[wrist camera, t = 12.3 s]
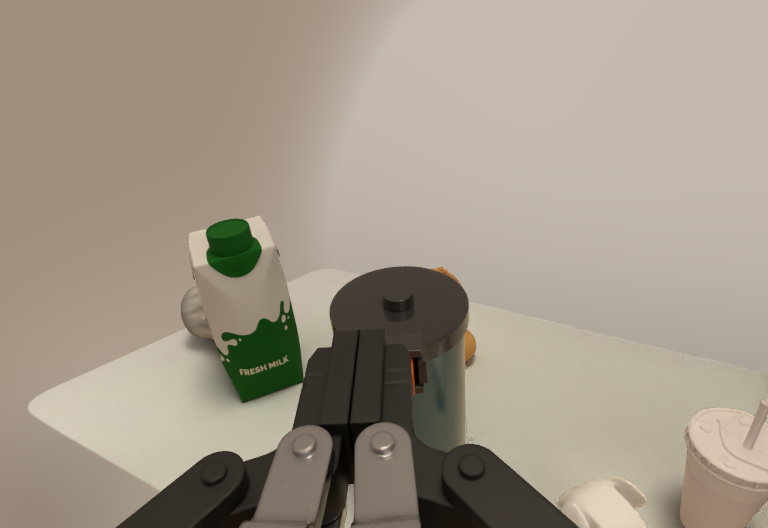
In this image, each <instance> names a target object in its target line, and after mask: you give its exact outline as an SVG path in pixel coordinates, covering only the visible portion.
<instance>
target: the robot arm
mask: <svg viewBox="0 0 768 528" xmlns="http://www.w3.org/2000/svg"><path fill="white" fill-rule="evenodd" d="M348 484H354V522H352V524H351V528H579V527H578V526H577V525H576V524H575V523H574V522H573V521H571V520H570V519H569V518H568V517H567V516H566V515H564V514H563V513H562V512H561V511H560V510H559V509H557V508H556V507H555V506H554V505H553V504H552V503H551V502H549V501H548V500H547V499H546V498H545V497H544V496H542V495H541V494H540V493H539V492H538V491H537V490H536V489H534V488H533V487H532V486H531V485H530V484H529V483H527V482H526V481H525V480H524V479H523V478H522V477H521V476H519V475H518V474H517V473H516V472H515V471H514V470H512V469H511V468H510V467H509V466H508V465H507V464H506V463H504V462H503V461H502V460H501V459H500V458H499V457H497V456H496V455H495V454H494V453H493V452H491V451H490V450H489V449H487V448H485V447H482V446H480V445H475V444H464V445H460V446H457V447H455V448H453V449H452V450H450V451H449V452H448V453H447V452H444V451H440V450H436V449H433V448H431V447H429V446H427V445H425V444H424V443H422V442H421V441H420V440H419V439H418V438H417V436H416V435H415V433H414V396H413V381H412V369H411V357H410V354H409V352H408V351H407V349H406V348H405V346H404V344H388V345H387V336H386V329H385V327H381V328H362V329H361V330H360V329H344V330H335V332H334V336H333V342H332V347H328V348H318V349H317V350H316V351H315V353H314V354H313V355H312V356H311V358H310V359H309V360H308V364H307V369H306V373H305V377H304V382H303V388H302V390H301V394H300V399H299V403H298V407H297V412H296V416H295V420H294V425H293V428H292V431H290V432H289V433H287V434H286V435H285V436H284V437H283V438H282V440H281V441H280V443H279V445H278V448H277V449H276V450H274V451H272V452H270V453H268V454H266V455H263V456H260V457H257V458H254V459H251V460H248V461H245V462H243V460H242V458H241V457H240V456H239V455H237V454H236V453H233V452H229V451H221V452H216V453H213V454H210V455H208V456H206V457H204V458H203V459H201V460H200V461H199V462H197V463H196V464H195V465H194V466H192V467H191V468H190V469H189V470H187V471H186V472H185V473H184V474H182V475H181V476H180V477H179V478H177V479H176V480H175V481H174V482H172V483H171V484H170V485H169V486H167V487H166V488H165V489H164V490H162V491H161V492H160V493H159V494H158V495H156V496H155V497H154V498H152V499H151V500H150V501H149V502H148V503H146V504H145V505H144V506H142V507H141V508H140V509H139V510H137V511H136V512H135V513H134V514H132V515H131V516H130V517H129V518H127V519H126V520H125V521H124V522H122V523H121V524H120V525H119V526H117V527H116V528H344V526H345V521H346V515H347V507H346V501H347V491H348Z"/></svg>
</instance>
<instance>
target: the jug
mask: <svg viewBox="0 0 768 528" xmlns="http://www.w3.org/2000/svg"><path fill="white" fill-rule="evenodd" d="M330 320H331V325H332V331H333V335H334V332H335V330H344V329H360V330H361V329H362V328H381V327H385V329H386V336H387V345H388V344H404V346H405V348H406V349H407V351H408V352H409V354H410V357H411V359H413V366H414V379H415V396H414V433H415V435H416V436H417V438H418V439H419V440H420V441H421V442H422V443H424V444H425V445H427V446H429V447H431V448H433V449H436V450H440V451H444V452H447V453H448V452H449V451H450V450H452V449H453V448H455V447H457V446H460V445H464V444H466V433H465V333H466V330H467V328H468V323H469V302H468V297H467V294H466V292H465V291H464V289H463V288H462V287H461V285H460V284H459V283H458V282H456V281H455V280H454V279H452V278H451V277H449V276H447V275H445V274H443V273H440V272H438V271H435V270H431V269H426V268H421V267H406V266H404V267H391V268H384V269H380V270H375V271H372V272H369V273H366V274H364V275H361V276H359V277H357V278H355V279H353V280H352V281H350V282H349V283H347V284H346V285H345V286H343V287H342V288H341V289H340V290H339V291H338V293H337V294H336V295H335V297H334V299H333V300H332V303H331V306H330Z"/></svg>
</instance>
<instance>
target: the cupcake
mask: <svg viewBox="0 0 768 528" xmlns="http://www.w3.org/2000/svg"><path fill="white" fill-rule="evenodd" d="M181 316H182V320H183V323H184V325H185V327H186V328H187V330H188V331H189V332H190V333H192V334H193V335H195V336H198V337H206V338H211V339H214V338H213V335H212V332H211V330H210V327H209V324H208V321H207V318H206V315H205V312H204V309H203V306H202V303H201V300H200V297H199V294H198V289H197V286H196V287H194V288H192V289H190V290H189V291H188V292H187V293H186V294H185V296H184V297H183V300H182V303H181Z"/></svg>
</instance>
